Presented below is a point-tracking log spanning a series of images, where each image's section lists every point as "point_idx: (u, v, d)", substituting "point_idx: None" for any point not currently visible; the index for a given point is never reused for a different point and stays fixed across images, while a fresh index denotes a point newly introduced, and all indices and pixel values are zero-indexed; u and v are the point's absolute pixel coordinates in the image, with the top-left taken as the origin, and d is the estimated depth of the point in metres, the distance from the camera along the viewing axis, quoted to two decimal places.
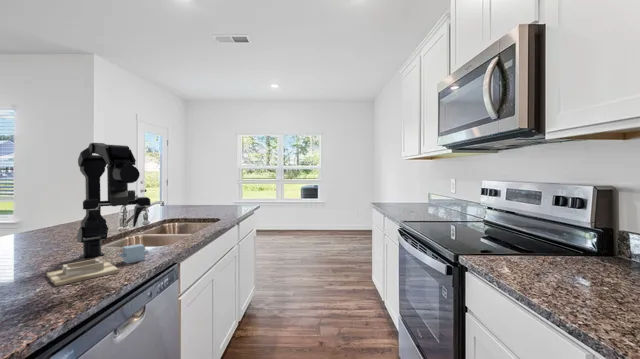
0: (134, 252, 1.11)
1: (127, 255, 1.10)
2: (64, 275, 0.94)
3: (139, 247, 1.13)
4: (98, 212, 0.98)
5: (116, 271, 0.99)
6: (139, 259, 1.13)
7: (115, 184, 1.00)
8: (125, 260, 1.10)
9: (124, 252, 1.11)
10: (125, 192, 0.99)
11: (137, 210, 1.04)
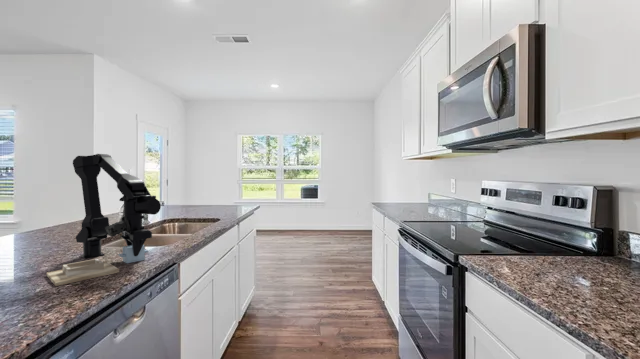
0: None
1: (127, 255, 1.10)
2: (64, 275, 0.94)
3: None
4: (123, 238, 1.13)
5: (116, 271, 0.99)
6: (139, 259, 1.13)
7: (124, 215, 1.11)
8: (125, 260, 1.10)
9: (124, 252, 1.11)
10: (118, 224, 1.08)
11: (130, 241, 1.09)
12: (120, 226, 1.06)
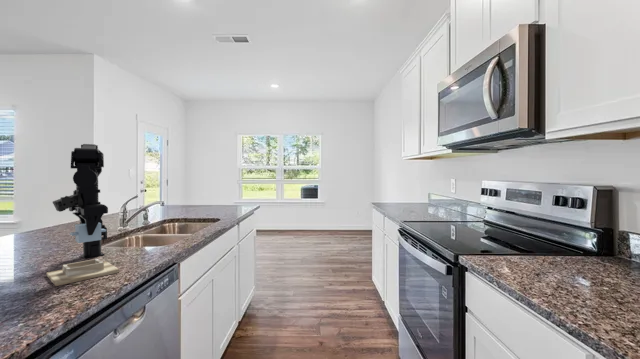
0: None
1: (79, 233, 0.96)
2: (64, 275, 0.94)
3: None
4: (76, 215, 0.99)
5: (116, 271, 0.99)
6: (94, 238, 0.99)
7: (76, 188, 0.97)
8: (77, 239, 0.96)
9: (76, 230, 0.97)
10: None
11: (82, 218, 0.96)
12: (69, 199, 0.92)
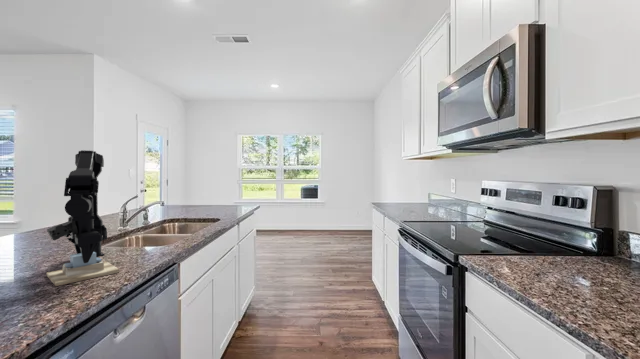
0: None
1: (74, 265, 0.95)
2: (64, 275, 0.94)
3: None
4: (71, 241, 0.99)
5: (116, 271, 0.99)
6: None
7: (71, 215, 0.96)
8: None
9: (71, 261, 0.96)
10: (63, 225, 0.93)
11: (78, 246, 0.94)
12: (63, 228, 0.91)
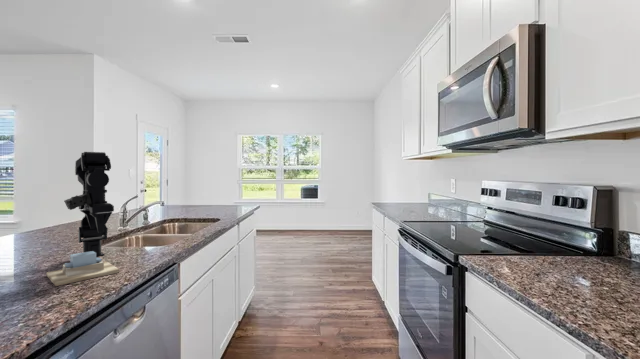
0: (83, 261, 0.97)
1: (74, 265, 0.95)
2: (64, 275, 0.94)
3: (89, 255, 0.98)
4: (84, 213, 1.10)
5: (116, 271, 0.99)
6: None
7: (85, 189, 1.07)
8: None
9: (71, 261, 0.96)
10: (78, 197, 1.03)
11: (93, 216, 1.04)
12: (79, 198, 1.02)
